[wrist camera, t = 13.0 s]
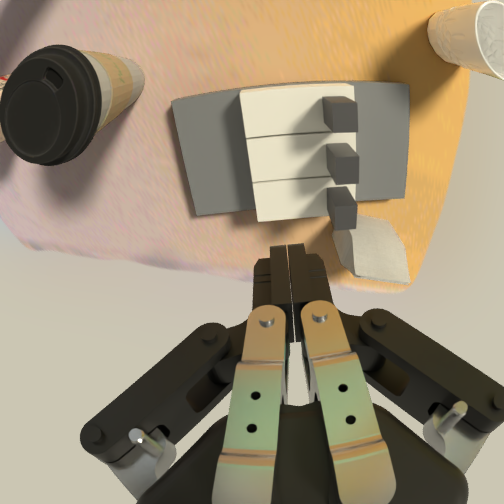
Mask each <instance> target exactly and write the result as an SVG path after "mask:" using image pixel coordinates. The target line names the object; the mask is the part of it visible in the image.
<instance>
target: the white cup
mask: <svg viewBox="0 0 504 504" xmlns="http://www.w3.org/2000/svg"><path fill="white" fill-rule="evenodd" d="M427 32H428V37H429V42H430V44H431V46H432V47H433V49H434V51H435V52H436V54H437V55H439V56H440V57H441V58H442V59H443V60H444V61H446V62H449V63H452V64H455V65H459V66H462V67H463V68H466V69H470V70H472V71H476V72H479V73H483V74H486V75H489V76H492V77H495V78H498V79H501V80H504V4H503V3H501V2H498V1H484V2H478V3H471V4H466V5H460V6H456V7H452V8H450V9H447V10H443V11H438V12H436V13H435V14H434V15H433V16H432V17H431V18H430V19H429V23H428V28H427Z"/></svg>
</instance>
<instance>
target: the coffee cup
mask: <svg viewBox="0 0 504 504" xmlns="http://www.w3.org/2000/svg"><path fill="white" fill-rule="evenodd" d="M144 81H145V78H144V74H143V71H142V69H141V68H140V67H139V65H138V64H137V63H135V62H134V61H132V60H130V59H128V58H123V57H117V56H113V55H111V54H106V53H99V52H91V51H82V50H77V49H75V48H72V47H70V46H66V45H51V46H47V47H44V48H42V49H39V50H37V51H35V52H33V53H31V54H30V55H29V56H27V57H26V58H25V59H24V60H23V61H22V62H21V63H20V64H19V65H18V67H17V68H16V69H15V70H14V71H13V72H12V74H11V75H10V76H9V78H8V80H7V81H6V84H5V86H4V88H3V91H2V94H1V99H0V125H1V129H2V133H3V135H4V138H5V140H6V142H7V144H8V145H9V147H10V148H11V149H12V151H13V152H14V153H15V154H16V155H17V156H19V157H20V158H21V159H23V160H25V161H27V162H30V163H35V164H39V165H44V166H54V165H59V164H62V163H65V162H68V161H70V160H72V159H74V158H76V157H77V156H78V155H80V154H81V153H82V152H83V151H84V150H85V149H86V148H87V146H88V145H89V143H90V142H91V140H92V139H93V137H94V135H95V134H96V133H97V132H98V131H100V130H101V129H102V128H103V127H105V126H106V125H107V124H108V123H110V122H111V121H112V120H113V119H115V118H116V117H117V116H118V115H119V114H120V113H121V112H122V111H123V110H124V109H126V108H127V107H128V106H130V105H131V104H132V103H133V102H135V100H136V99H137V98H138V97H139V96H140V94H141V92H142V90H143V87H144Z"/></svg>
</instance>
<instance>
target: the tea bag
mask: <svg viewBox="0 0 504 504" xmlns="http://www.w3.org/2000/svg"><path fill="white" fill-rule="evenodd" d="M332 238H333V241H334V244H335V247H336V250H337V253H338V256H339V259H340V263H341V265H343V266H344V267H345V268H347V269H348V270H349V271H350V272H351V273H352V274H353V276H354V277H355V278H362V279H369V280H376V281H383V282H390V283H397V284H404V285H409V284H408V283H411V281H410V277H409V271H408V265H407V258H406V251H405V246H404V245H403V243H402V241H401V240H400V238H399V236H398V235H397V233H396V232H395V230H394V228H393V227H392V225H391V224H390V222H389V221H388V220H384V219H380V218H375V217H371V216H366V215H362V214H357V225H356V229H351V230H339V231H335V230H333V233H332Z"/></svg>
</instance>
